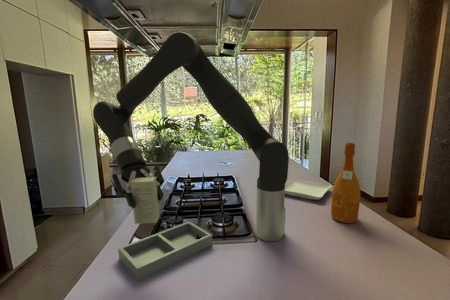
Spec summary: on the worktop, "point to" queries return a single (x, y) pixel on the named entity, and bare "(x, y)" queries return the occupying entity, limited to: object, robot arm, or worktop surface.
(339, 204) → the wine bottle
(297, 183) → the salad plate
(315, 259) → the worktop surface
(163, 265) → the carton tray
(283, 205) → the robot arm
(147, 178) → the skincare box
